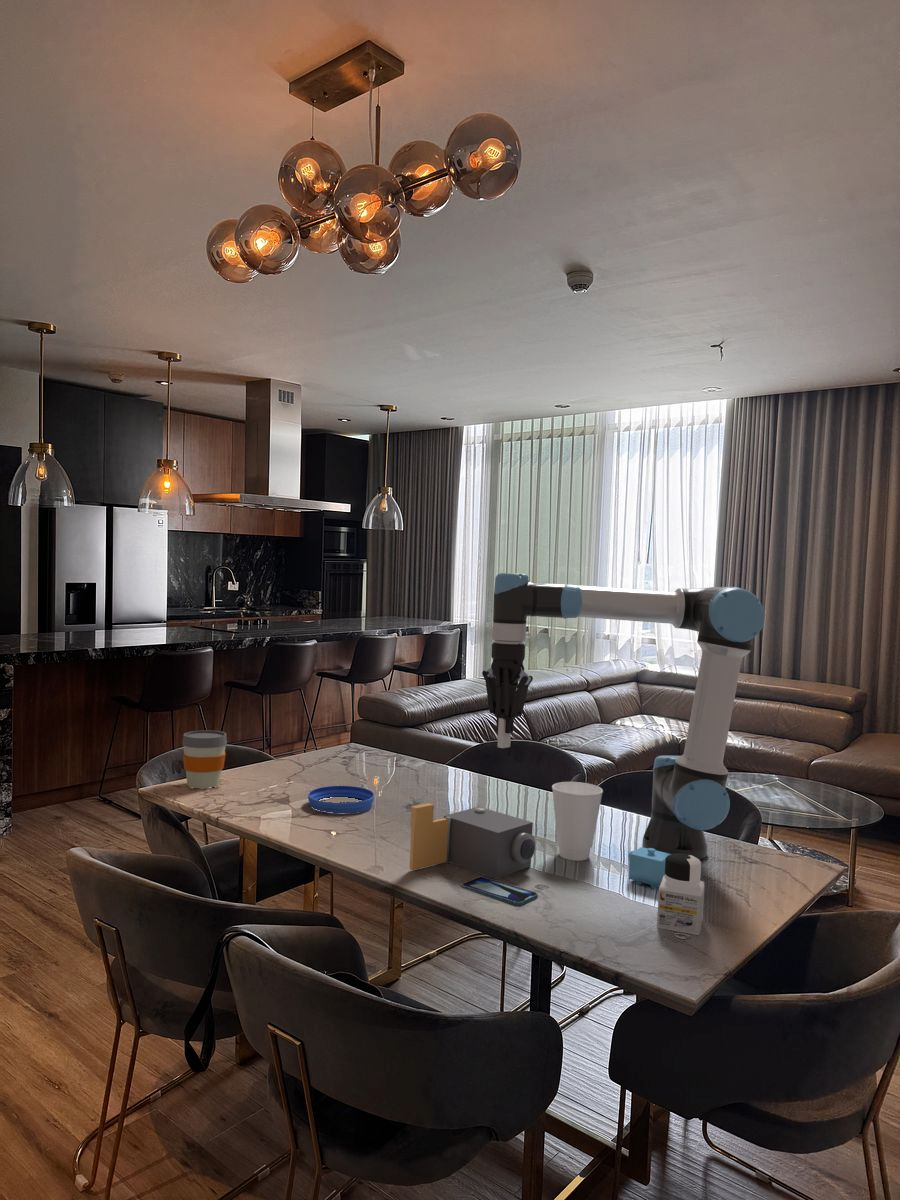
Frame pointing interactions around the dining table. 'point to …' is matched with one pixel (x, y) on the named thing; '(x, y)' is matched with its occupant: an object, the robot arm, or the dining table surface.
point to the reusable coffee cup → (204, 757)
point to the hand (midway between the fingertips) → (503, 746)
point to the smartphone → (500, 891)
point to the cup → (576, 817)
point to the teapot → (647, 866)
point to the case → (490, 842)
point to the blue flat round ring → (341, 791)
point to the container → (681, 895)
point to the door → (428, 837)
